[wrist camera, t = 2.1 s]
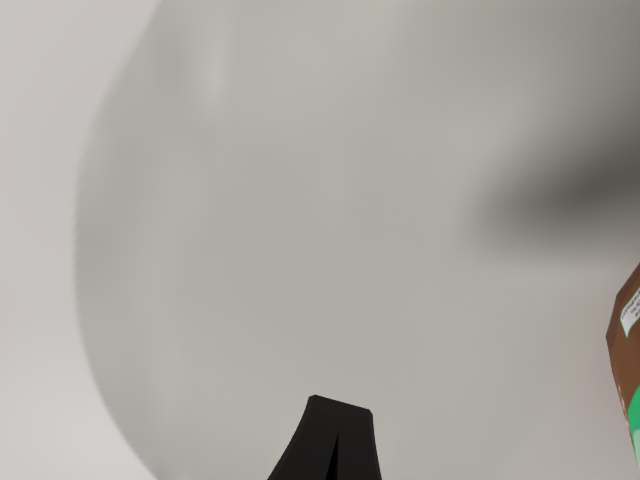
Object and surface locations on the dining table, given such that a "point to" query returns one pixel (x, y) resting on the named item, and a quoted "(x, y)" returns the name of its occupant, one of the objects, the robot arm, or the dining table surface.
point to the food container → (627, 353)
